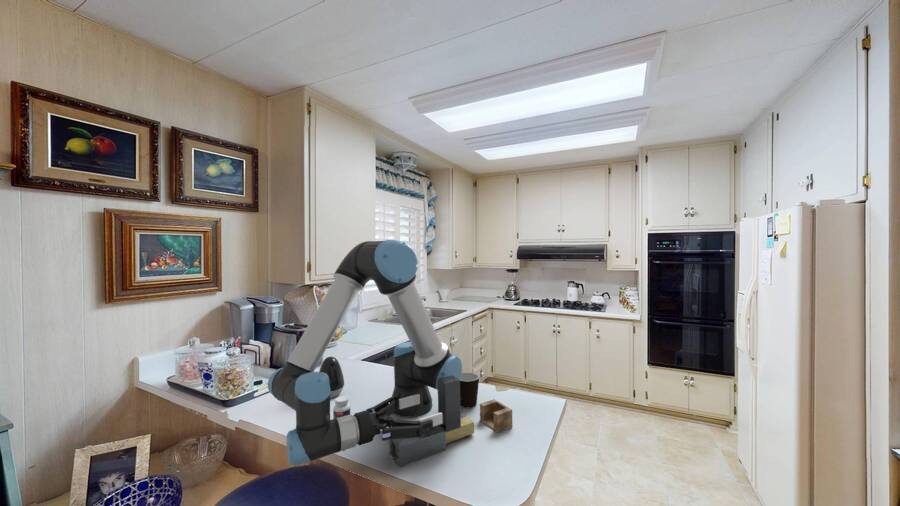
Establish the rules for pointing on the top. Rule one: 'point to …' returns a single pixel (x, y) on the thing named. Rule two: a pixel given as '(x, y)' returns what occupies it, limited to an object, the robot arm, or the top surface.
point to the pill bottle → (341, 407)
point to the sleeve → (418, 446)
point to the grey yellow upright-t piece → (451, 410)
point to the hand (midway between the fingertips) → (430, 407)
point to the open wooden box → (496, 415)
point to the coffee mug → (468, 389)
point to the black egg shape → (333, 375)
